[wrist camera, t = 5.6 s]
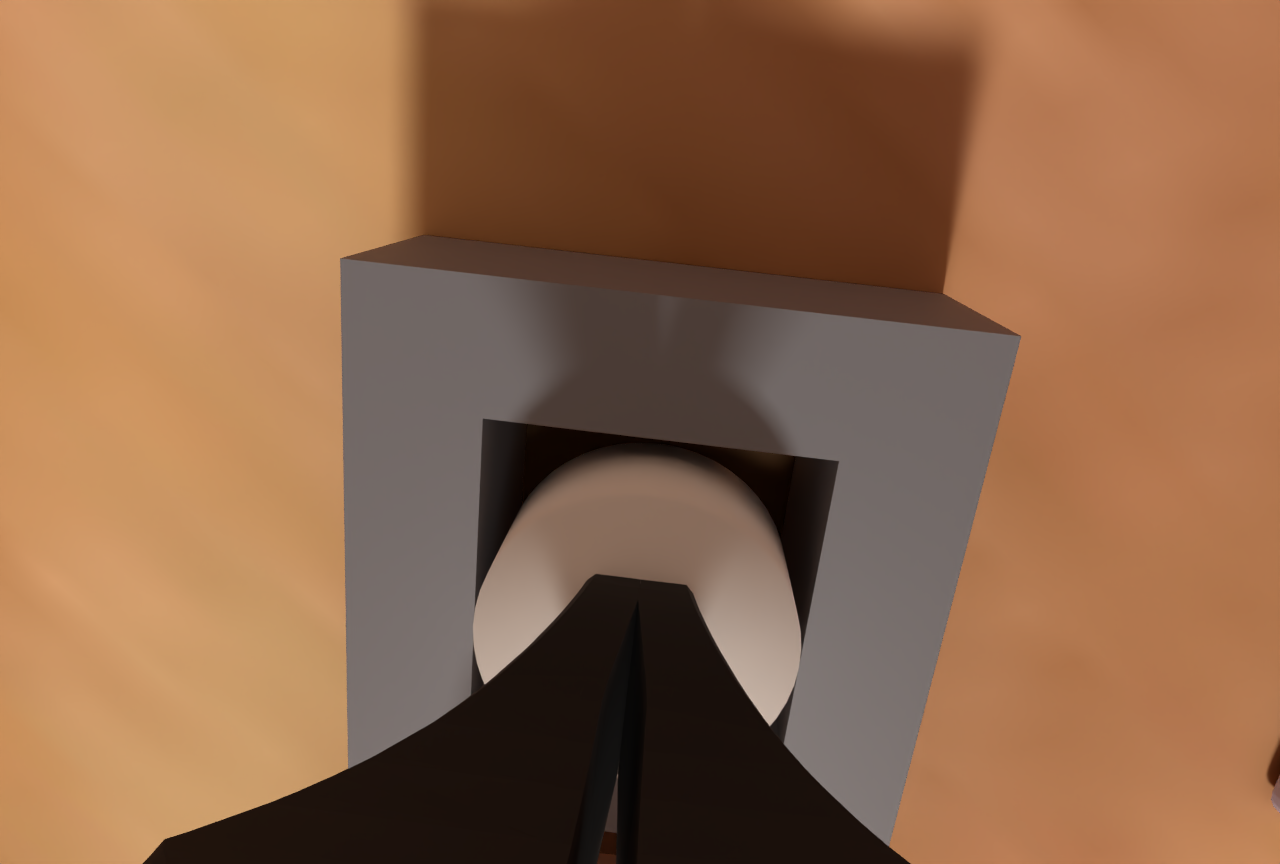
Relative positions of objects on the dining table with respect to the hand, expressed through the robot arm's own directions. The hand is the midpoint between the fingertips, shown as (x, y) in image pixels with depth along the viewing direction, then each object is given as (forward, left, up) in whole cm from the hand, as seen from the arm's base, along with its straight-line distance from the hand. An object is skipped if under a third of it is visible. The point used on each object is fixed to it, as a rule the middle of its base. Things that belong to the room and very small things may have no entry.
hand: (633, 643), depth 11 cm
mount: (0, +7, -5) cm, 8 cm away
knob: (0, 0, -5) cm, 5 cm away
